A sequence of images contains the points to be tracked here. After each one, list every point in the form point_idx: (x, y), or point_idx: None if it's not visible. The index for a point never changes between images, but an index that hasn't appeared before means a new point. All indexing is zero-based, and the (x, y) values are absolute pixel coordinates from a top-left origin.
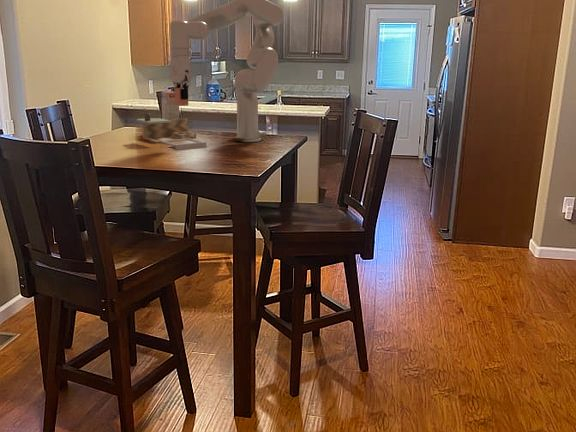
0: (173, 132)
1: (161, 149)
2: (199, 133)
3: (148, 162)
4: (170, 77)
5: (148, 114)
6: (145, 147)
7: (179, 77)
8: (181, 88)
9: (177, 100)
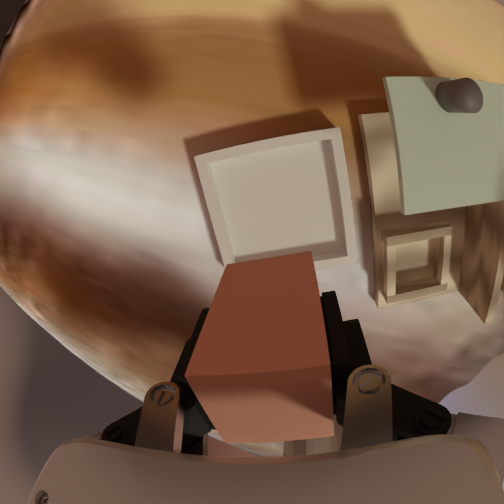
0: (470, 242)
1: (236, 103)
2: (493, 334)
3: (41, 58)
4: (462, 479)
5: (454, 93)
6: (310, 59)
7: (62, 481)
8: (177, 391)
9: (262, 280)
